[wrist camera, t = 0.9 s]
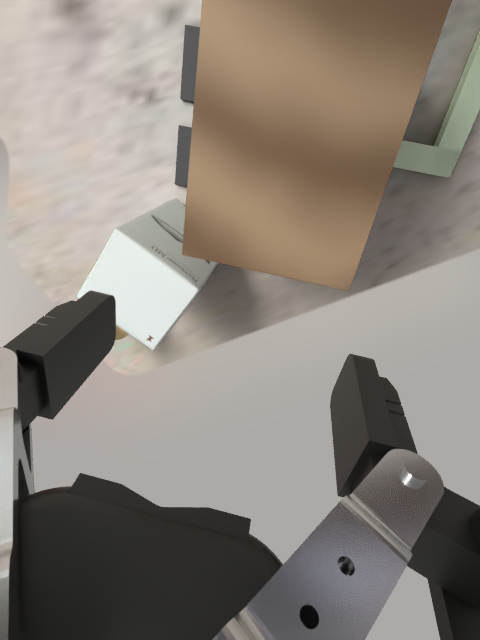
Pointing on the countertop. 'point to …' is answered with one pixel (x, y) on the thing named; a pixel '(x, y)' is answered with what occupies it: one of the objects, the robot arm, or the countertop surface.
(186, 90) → the pair of grey pads
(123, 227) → the supplement box
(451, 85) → the countertop surface
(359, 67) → the brown hollow box
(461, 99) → the green zigzag lever
